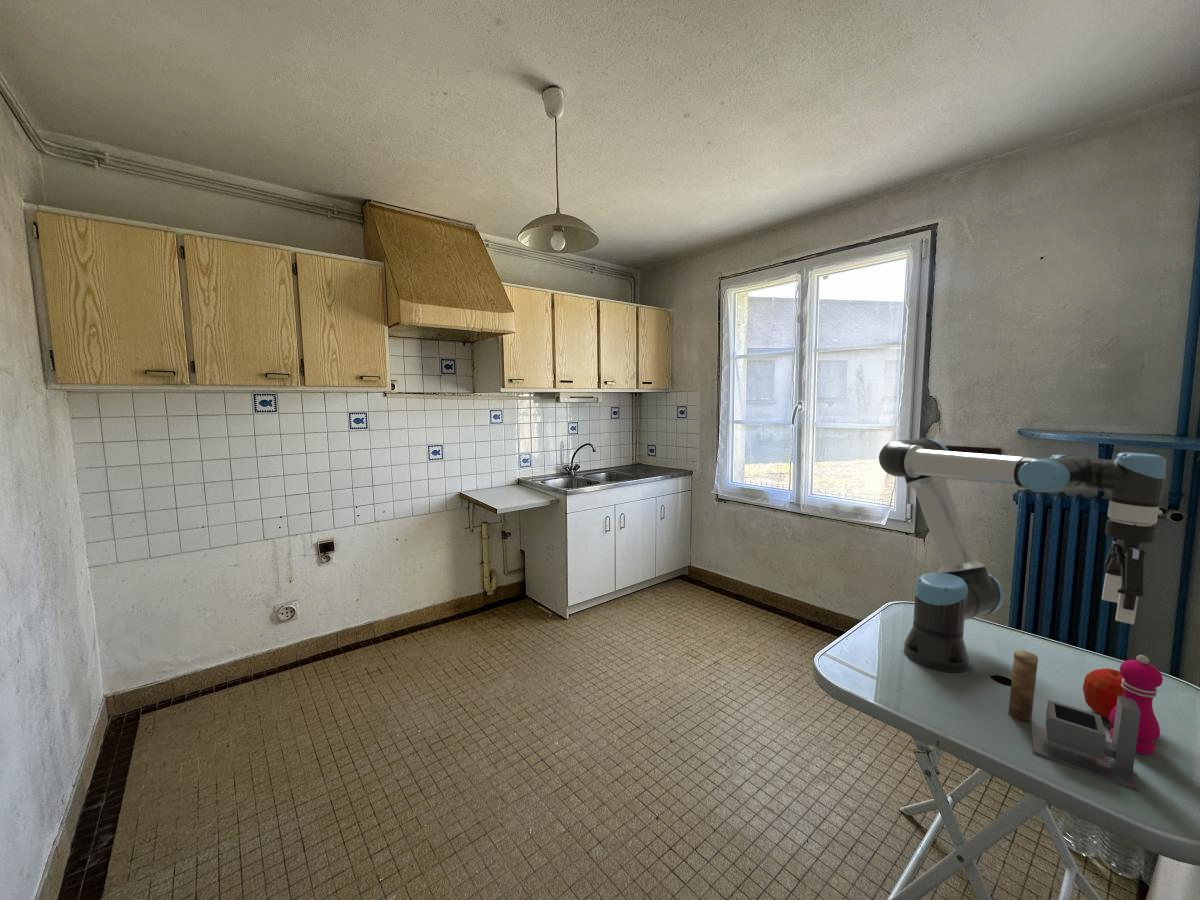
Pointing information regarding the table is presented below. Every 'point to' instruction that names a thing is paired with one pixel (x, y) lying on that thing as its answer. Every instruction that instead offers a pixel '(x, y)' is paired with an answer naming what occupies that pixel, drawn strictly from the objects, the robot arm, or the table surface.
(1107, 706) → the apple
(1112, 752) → the bracket
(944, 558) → the robot arm
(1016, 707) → the brown cylinder
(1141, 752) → the pepper mill
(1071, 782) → the table surface
